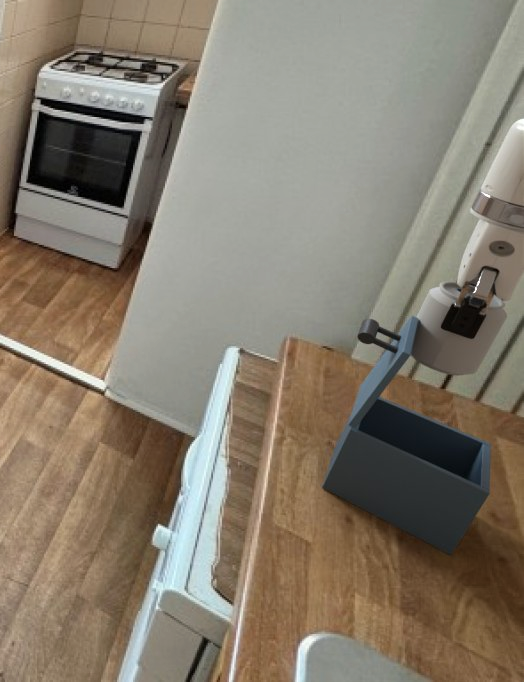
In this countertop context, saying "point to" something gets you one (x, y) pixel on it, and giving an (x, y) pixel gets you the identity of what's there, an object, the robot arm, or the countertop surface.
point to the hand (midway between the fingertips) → (458, 320)
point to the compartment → (412, 473)
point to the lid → (382, 363)
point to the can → (447, 347)
